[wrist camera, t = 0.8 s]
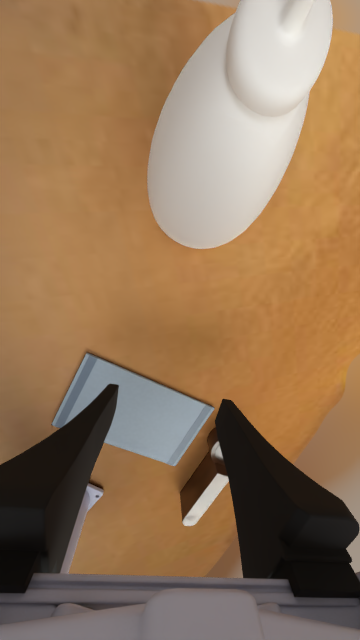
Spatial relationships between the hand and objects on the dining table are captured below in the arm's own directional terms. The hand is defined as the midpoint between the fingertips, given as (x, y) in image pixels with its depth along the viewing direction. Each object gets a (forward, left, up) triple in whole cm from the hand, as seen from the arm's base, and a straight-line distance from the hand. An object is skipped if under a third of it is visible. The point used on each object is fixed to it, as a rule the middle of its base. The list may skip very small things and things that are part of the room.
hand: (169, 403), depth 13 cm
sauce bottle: (+13, +7, -11) cm, 18 cm away
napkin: (-10, -3, -10) cm, 15 cm away
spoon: (-11, -17, -10) cm, 23 cm away
